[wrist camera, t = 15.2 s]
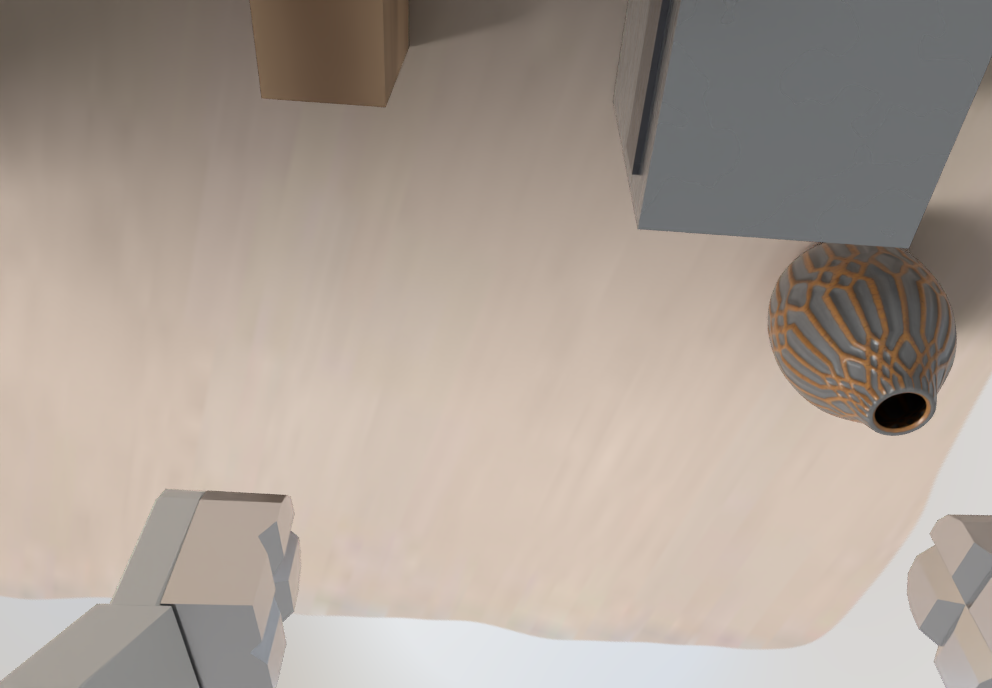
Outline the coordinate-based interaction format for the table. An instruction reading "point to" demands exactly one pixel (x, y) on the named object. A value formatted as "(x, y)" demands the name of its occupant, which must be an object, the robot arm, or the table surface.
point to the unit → (795, 113)
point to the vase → (863, 334)
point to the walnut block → (330, 49)
